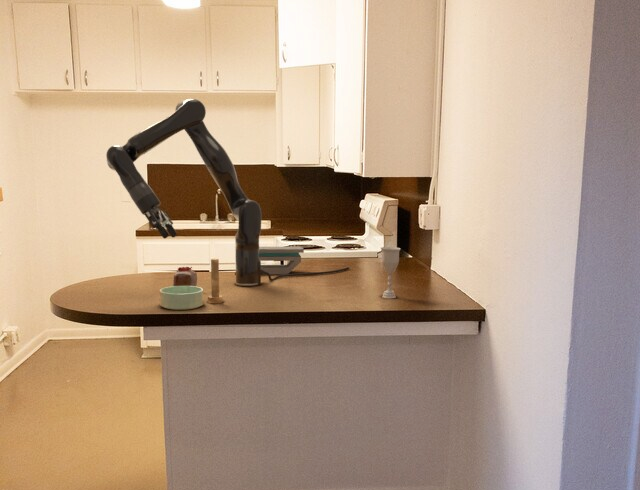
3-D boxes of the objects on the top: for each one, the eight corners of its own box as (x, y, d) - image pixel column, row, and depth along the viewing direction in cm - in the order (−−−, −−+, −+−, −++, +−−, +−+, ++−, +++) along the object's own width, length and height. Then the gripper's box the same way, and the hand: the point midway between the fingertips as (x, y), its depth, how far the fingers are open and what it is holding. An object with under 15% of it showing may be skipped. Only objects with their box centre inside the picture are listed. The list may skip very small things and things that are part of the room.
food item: (176, 289, 249) (175, 263, 248) (197, 289, 250) (197, 263, 248) (172, 296, 236) (171, 269, 234) (195, 296, 237) (194, 269, 235)
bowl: (198, 300, 232) (198, 284, 231) (207, 308, 219) (207, 292, 218) (157, 302, 227) (156, 287, 226) (163, 311, 214) (163, 295, 213)
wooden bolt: (220, 299, 233) (220, 257, 230) (224, 302, 228) (223, 260, 225) (206, 300, 231) (205, 258, 228) (209, 303, 226) (209, 260, 223)
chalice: (400, 296, 245) (402, 247, 241) (396, 299, 238) (398, 250, 235) (381, 294, 247) (383, 246, 243) (376, 297, 241) (378, 248, 237)
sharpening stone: (245, 274, 282) (245, 249, 280) (244, 271, 290) (244, 246, 288) (303, 274, 286) (303, 249, 284) (301, 271, 293) (301, 246, 291)
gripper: (145, 191, 221) (172, 231, 222) (160, 192, 235) (186, 230, 236) (127, 204, 222) (155, 243, 223) (143, 204, 237) (169, 241, 237)
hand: (171, 236), depth 230 cm, fingers open, 8 cm apart
